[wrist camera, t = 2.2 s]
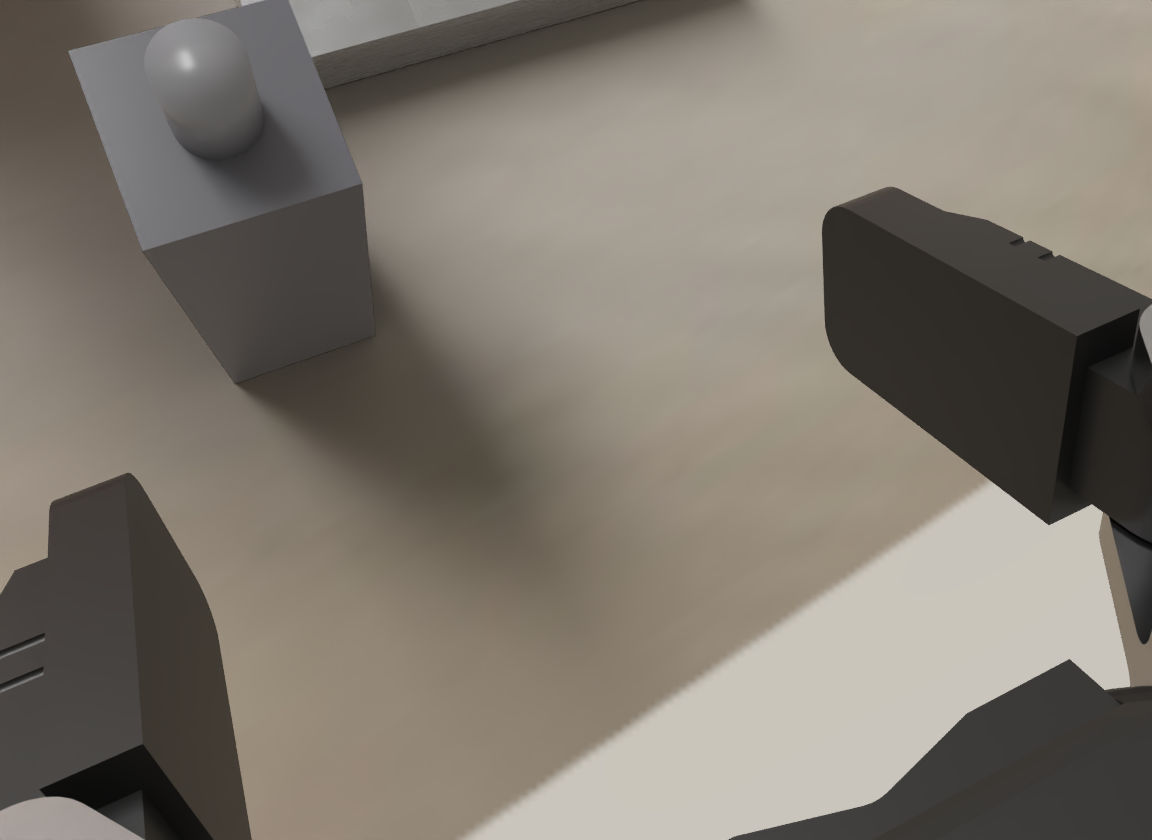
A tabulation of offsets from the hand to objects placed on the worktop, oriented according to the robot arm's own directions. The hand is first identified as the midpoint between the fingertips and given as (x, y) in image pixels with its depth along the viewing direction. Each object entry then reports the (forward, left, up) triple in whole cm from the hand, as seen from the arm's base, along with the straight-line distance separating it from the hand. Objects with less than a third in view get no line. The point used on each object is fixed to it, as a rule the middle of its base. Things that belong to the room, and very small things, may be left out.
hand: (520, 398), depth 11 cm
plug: (0, +9, -19) cm, 21 cm away
